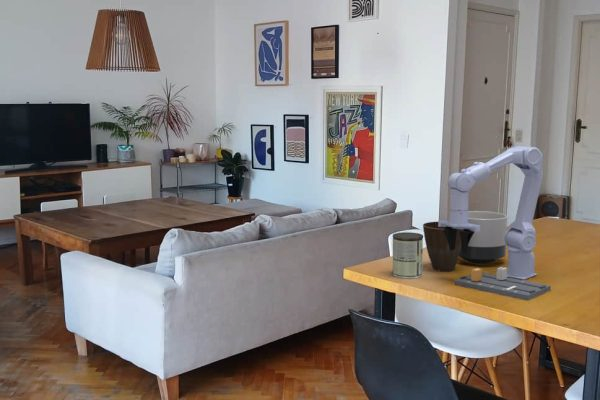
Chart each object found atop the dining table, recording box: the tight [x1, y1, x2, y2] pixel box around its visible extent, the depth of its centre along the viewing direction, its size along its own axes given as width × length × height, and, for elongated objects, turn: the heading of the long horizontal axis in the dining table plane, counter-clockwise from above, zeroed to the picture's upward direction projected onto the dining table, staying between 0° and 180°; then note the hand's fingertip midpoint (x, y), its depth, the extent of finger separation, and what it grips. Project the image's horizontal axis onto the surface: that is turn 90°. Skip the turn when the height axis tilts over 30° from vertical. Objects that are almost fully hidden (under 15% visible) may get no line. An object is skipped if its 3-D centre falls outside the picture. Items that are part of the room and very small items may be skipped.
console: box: [454, 272, 552, 301], centre depth 201 cm, size 15×25×2 cm, turn 44°
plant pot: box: [422, 221, 464, 272], centre depth 225 cm, size 15×15×16 cm
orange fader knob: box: [470, 267, 483, 281], centre depth 203 cm, size 3×2×4 cm, turn 134°
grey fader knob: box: [496, 266, 508, 280], centre depth 204 cm, size 3×2×4 cm, turn 134°
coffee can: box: [392, 231, 424, 280], centre depth 217 cm, size 10×10×14 cm
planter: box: [459, 210, 508, 265], centre depth 236 cm, size 19×19×18 cm
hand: (458, 250), depth 207 cm, fingers open, 4 cm apart
